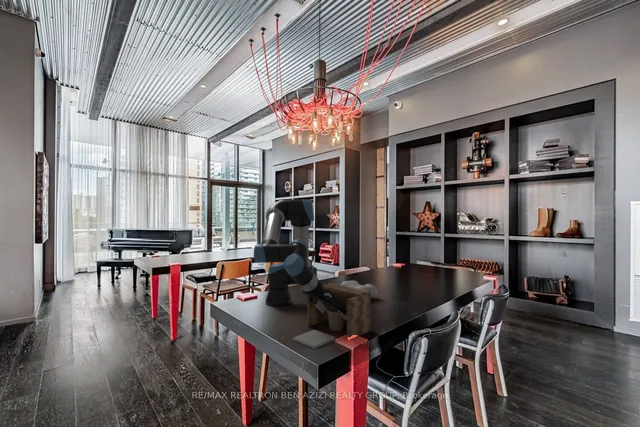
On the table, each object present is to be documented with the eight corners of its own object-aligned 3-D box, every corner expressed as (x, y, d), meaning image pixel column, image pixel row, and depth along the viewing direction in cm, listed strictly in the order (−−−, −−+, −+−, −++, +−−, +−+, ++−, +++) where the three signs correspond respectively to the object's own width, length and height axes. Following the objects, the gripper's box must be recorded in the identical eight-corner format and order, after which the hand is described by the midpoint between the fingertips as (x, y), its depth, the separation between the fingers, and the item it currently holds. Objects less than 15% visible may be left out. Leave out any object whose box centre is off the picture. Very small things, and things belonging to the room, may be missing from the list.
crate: (349, 340, 114) (348, 297, 115) (307, 325, 131) (307, 288, 131) (370, 330, 125) (370, 290, 125) (329, 317, 142) (329, 283, 142)
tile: (314, 348, 106) (314, 346, 106) (293, 340, 115) (293, 337, 115) (335, 339, 115) (335, 336, 115) (314, 331, 123) (314, 329, 123)
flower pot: (347, 325, 131) (347, 306, 132) (347, 333, 122) (347, 312, 122) (326, 324, 132) (326, 305, 132) (325, 332, 123) (325, 312, 123)
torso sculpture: (380, 302, 177) (352, 288, 203) (381, 285, 176) (353, 273, 203) (359, 306, 169) (333, 290, 196) (360, 288, 169) (334, 275, 195)
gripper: (286, 287, 122) (311, 315, 132) (329, 297, 105) (354, 328, 115) (295, 273, 126) (319, 301, 137) (338, 281, 109) (362, 312, 119)
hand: (335, 313), depth 126 cm, fingers open, 13 cm apart
